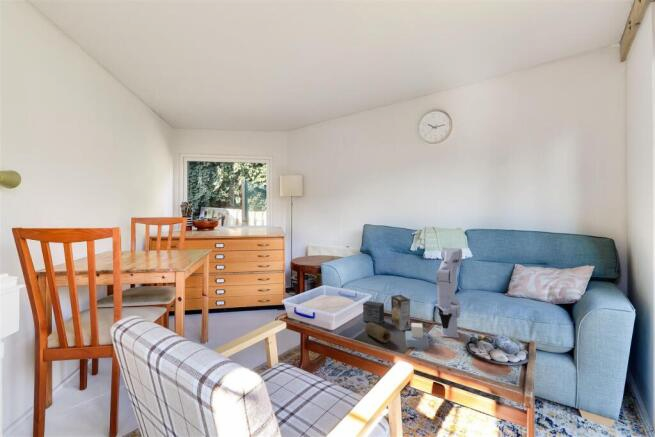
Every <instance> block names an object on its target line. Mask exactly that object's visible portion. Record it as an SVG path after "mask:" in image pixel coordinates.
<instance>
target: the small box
mask: <svg viewBox="0 0 655 437" xmlns="http://www.w3.org/2000/svg"><path fill="white" fill-rule="evenodd" d="M384 303H385V302H384ZM384 303H383V302H376V301H370V300H366V301H365V302H363V303H362V305H363V306H362V307H363V308H362V309H363V320H362V321H363V323H364V322H365V323H369V322H372V323H375V324H377V325H379V326H381V324H383V323H384V322H385V304H384Z"/></svg>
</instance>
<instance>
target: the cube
mask: <svg viewBox="0 0 655 437" xmlns="http://www.w3.org/2000/svg"><path fill="white" fill-rule="evenodd" d="M423 328H424V327H423V323H422V322H410V329H411V330H410V331H412V337H415V338H423V332H424V329H423Z"/></svg>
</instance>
